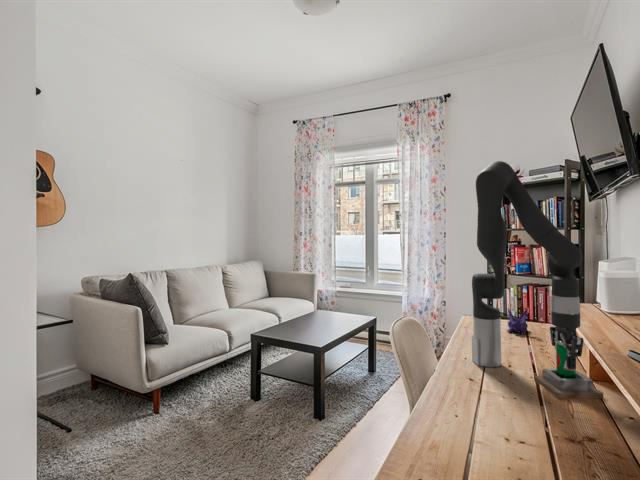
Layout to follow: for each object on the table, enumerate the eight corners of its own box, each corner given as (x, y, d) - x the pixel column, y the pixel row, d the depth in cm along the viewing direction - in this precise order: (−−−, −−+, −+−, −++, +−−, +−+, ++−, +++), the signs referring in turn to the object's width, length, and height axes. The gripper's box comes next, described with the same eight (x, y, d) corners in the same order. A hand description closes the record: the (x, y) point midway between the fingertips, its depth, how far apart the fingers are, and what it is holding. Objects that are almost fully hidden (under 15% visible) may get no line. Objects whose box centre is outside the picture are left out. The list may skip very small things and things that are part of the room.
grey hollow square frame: (556, 398, 109) (556, 382, 109) (534, 380, 122) (534, 366, 122) (603, 398, 108) (603, 382, 108) (575, 380, 121) (575, 366, 121)
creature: (504, 335, 173) (504, 309, 173) (509, 327, 189) (508, 302, 189) (526, 338, 169) (526, 311, 168) (529, 329, 184) (529, 304, 184)
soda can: (566, 383, 112) (566, 343, 112) (552, 377, 117) (551, 339, 117) (580, 381, 113) (579, 342, 113) (565, 375, 118) (564, 337, 118)
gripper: (540, 305, 122) (541, 357, 122) (566, 315, 108) (566, 374, 108) (564, 305, 121) (565, 357, 122) (593, 315, 107) (594, 374, 108)
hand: (566, 365), depth 115 cm, fingers closed on soda can, 5 cm apart
